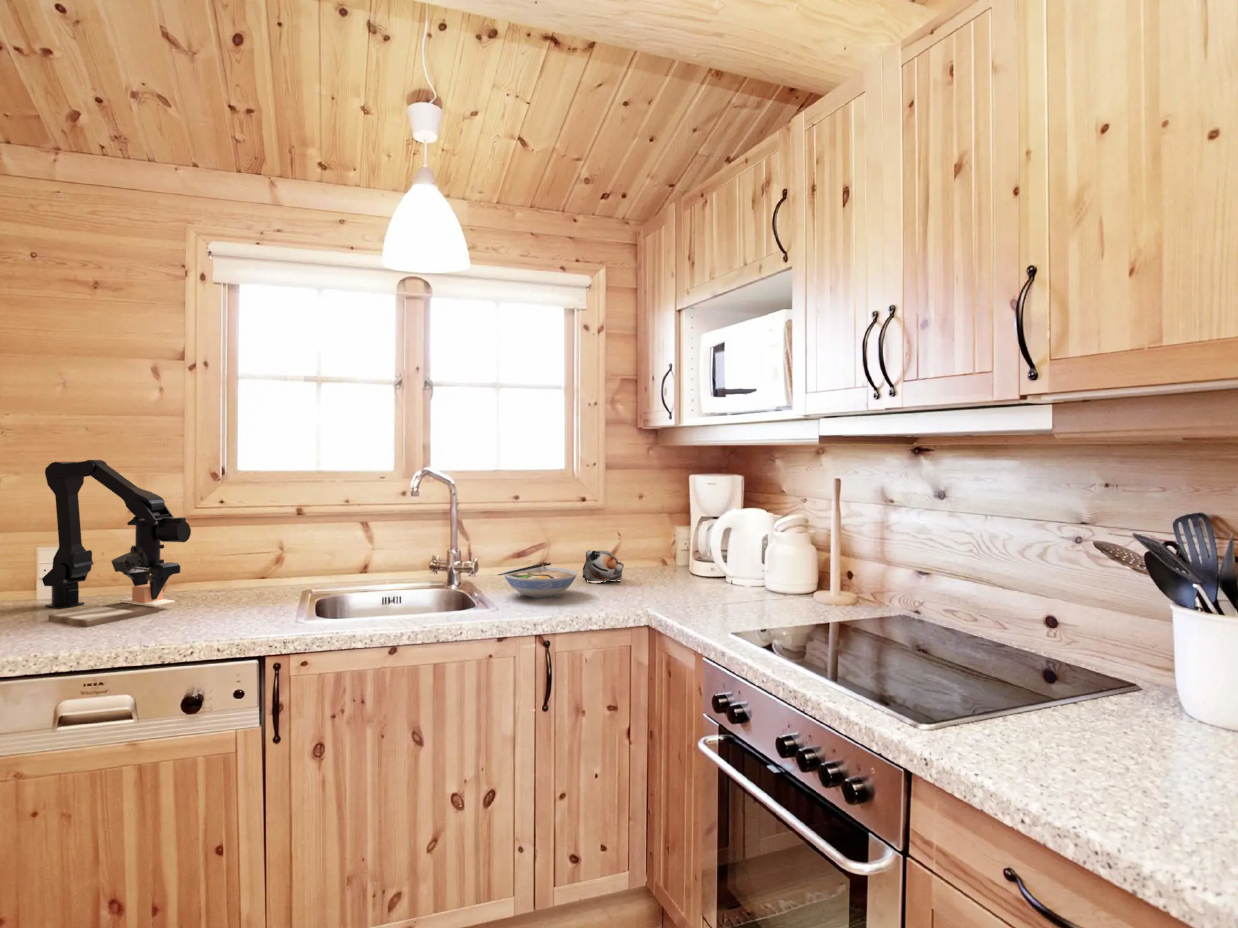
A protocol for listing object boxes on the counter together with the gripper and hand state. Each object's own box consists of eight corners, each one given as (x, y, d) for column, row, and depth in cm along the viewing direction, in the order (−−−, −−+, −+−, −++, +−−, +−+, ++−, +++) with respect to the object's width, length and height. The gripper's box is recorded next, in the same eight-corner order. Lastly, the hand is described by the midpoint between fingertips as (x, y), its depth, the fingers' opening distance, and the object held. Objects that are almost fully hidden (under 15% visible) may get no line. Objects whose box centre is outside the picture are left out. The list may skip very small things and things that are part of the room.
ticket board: (48, 620, 178) (48, 614, 178) (122, 606, 195) (122, 601, 195) (86, 626, 172) (86, 620, 172) (159, 612, 189) (159, 606, 189)
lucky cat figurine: (628, 579, 248) (633, 547, 242) (613, 598, 239) (618, 565, 232) (590, 564, 253) (594, 532, 246) (574, 582, 243) (578, 549, 237)
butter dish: (119, 600, 194) (119, 585, 193) (141, 596, 199) (141, 581, 199) (153, 605, 188) (154, 589, 188) (175, 601, 194) (175, 586, 194)
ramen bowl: (545, 608, 201) (545, 579, 201) (484, 598, 213) (485, 571, 213) (593, 594, 222) (594, 568, 222) (536, 585, 234) (536, 561, 234)
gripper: (94, 542, 190) (94, 600, 190) (140, 547, 182) (140, 607, 183) (136, 538, 200) (136, 593, 200) (182, 542, 193) (181, 599, 193)
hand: (147, 598), depth 194 cm, fingers closed on butter dish, 5 cm apart
